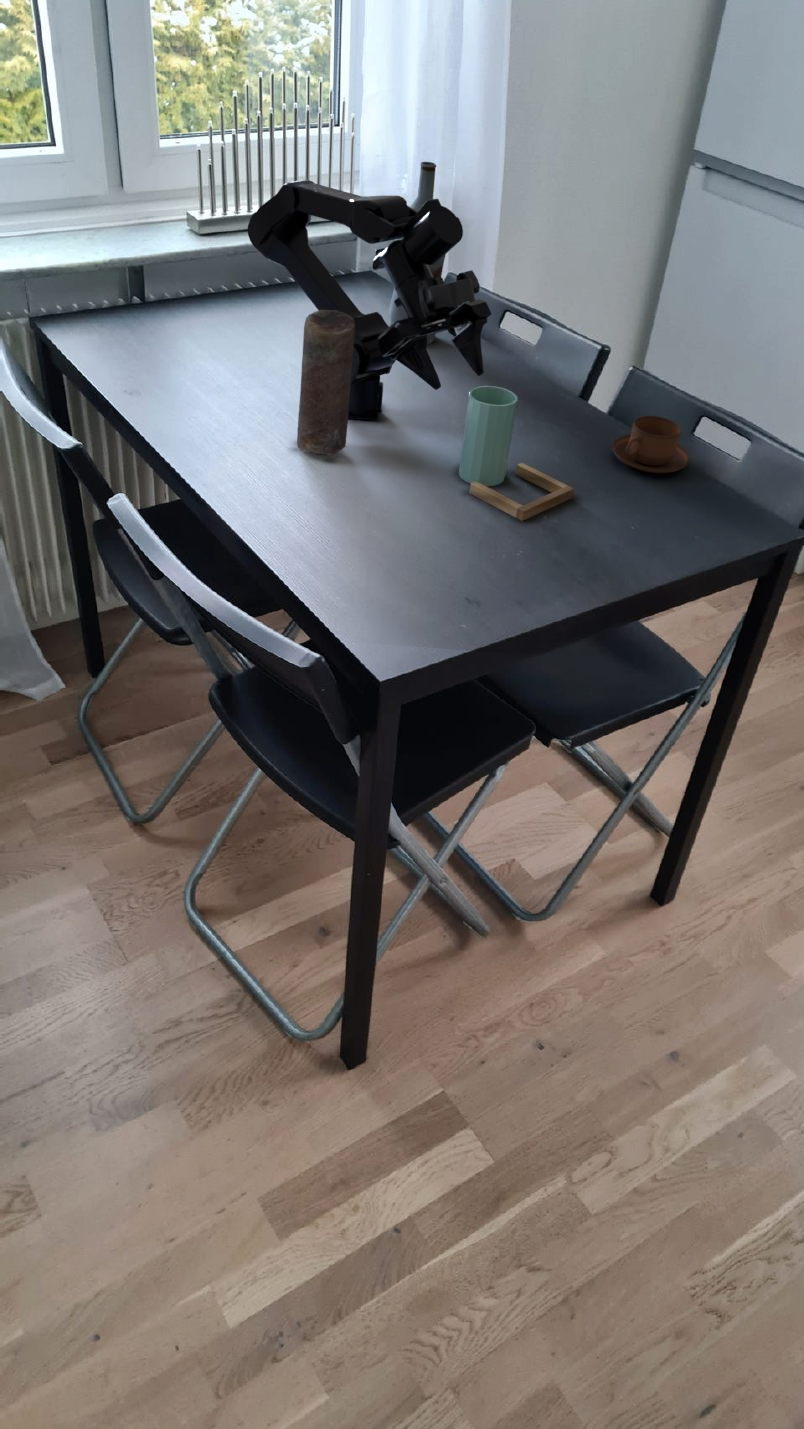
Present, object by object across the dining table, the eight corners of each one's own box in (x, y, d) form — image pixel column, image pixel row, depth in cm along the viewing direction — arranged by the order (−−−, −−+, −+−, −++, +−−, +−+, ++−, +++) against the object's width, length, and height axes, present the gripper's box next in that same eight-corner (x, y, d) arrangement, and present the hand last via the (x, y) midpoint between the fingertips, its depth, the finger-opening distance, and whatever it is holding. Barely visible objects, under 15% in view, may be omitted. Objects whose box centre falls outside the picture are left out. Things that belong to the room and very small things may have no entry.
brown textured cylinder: (354, 446, 170) (362, 315, 157) (336, 465, 164) (343, 331, 152) (308, 435, 172) (312, 305, 159) (288, 454, 166) (292, 320, 153)
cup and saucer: (670, 488, 168) (680, 450, 164) (598, 463, 173) (606, 426, 169) (697, 461, 177) (707, 425, 173) (628, 438, 181) (636, 402, 177)
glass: (459, 484, 163) (470, 403, 155) (457, 463, 169) (468, 384, 161) (506, 488, 164) (519, 407, 156) (502, 467, 169) (515, 388, 161)
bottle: (379, 339, 205) (392, 163, 187) (398, 325, 212) (413, 153, 193) (426, 351, 203) (444, 173, 184) (443, 336, 210) (463, 163, 191)
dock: (469, 493, 161) (470, 483, 160) (520, 472, 168) (521, 462, 167) (522, 521, 156) (523, 511, 155) (572, 498, 163) (574, 488, 162)
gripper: (398, 262, 148) (449, 370, 150) (490, 242, 159) (537, 342, 161) (355, 304, 157) (403, 405, 159) (444, 282, 168) (489, 377, 170)
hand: (460, 381), depth 162 cm, fingers open, 9 cm apart
